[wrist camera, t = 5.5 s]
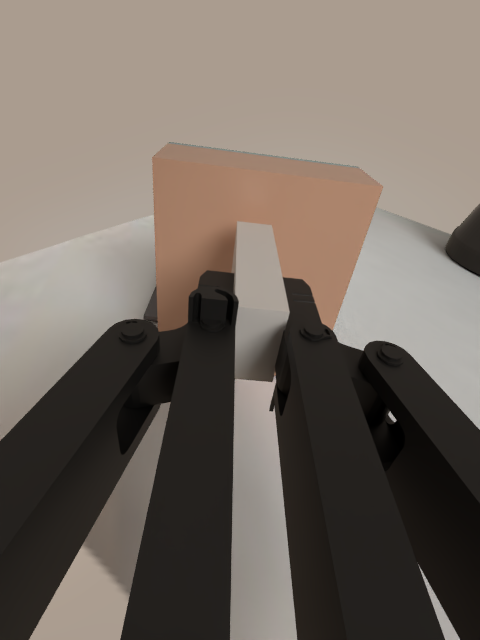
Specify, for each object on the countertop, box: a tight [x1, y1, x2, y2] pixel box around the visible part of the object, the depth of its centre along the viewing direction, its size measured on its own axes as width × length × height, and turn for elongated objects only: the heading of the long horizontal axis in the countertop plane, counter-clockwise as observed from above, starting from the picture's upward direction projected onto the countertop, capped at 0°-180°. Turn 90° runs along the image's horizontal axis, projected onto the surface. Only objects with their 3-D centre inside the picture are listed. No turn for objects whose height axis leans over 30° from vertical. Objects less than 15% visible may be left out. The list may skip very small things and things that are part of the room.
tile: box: [152, 142, 383, 376], centre depth 20 cm, size 4×10×12 cm, turn 90°
